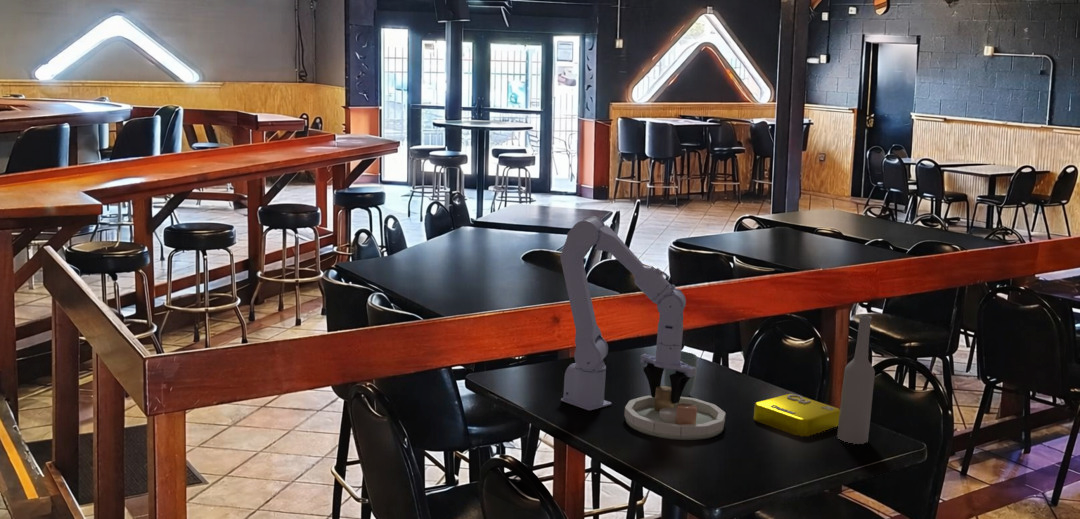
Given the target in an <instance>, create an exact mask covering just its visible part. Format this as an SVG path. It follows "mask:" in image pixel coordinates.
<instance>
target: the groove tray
mask: <svg viewBox="0 0 1080 519" xmlns="http://www.w3.org/2000/svg"><path fill="white" fill-rule="evenodd" d="M683 403H685V404H692V405H695V406H697V415H696V424H686V425H679V424H676V411H677V405H678V404H683ZM654 407H655V397H654V398H653V397H652V396H651V395H644V396H643V395H642V396H640V397H637V398H632V399H630V400H629V401H628V402H627V404H626V405H625V406H624V415H623V416H624V418H625V422H626V424H627V425H628V426H629V427H630V428H632V429H633V430H635V431H638V432H639V433H642V434H644V435H647V436H648V435H649V436H652V437H658V438H663V439H669V440H678V441H679V440H680V441H693V440H694V441H695V440H698V441H699V440H705V439H711V438H713V437H716V436H718V435H720V434H721V433H722V432H723V431H724V426H725V422H726V412H725V411H724V410H723V409H721V408H720V407H719V406H717V405H716V404H714V403H712V402H707V401H704V400H702V399H699V398H696V397H695V398H694V397H688V396H685V397H680V400H679V403H675V404H674V408H673V407H669V408H663V409H661V410H660V411H659V412H658V411H656V410H655V409H654Z"/></svg>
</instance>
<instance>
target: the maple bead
mask: <svg viewBox="0 0 1080 519" xmlns="http://www.w3.org/2000/svg"><path fill="white" fill-rule="evenodd" d="M669 407H673V408H674V404H672V403H671V387H668V386H665V385H662V386H659V387H656V393H655V407H654V409H655V410H656V411H658V412H659V411H660V410H661V409H663V408H669Z"/></svg>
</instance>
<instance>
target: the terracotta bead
mask: <svg viewBox="0 0 1080 519" xmlns="http://www.w3.org/2000/svg"><path fill="white" fill-rule="evenodd" d="M696 415H697V406H695V405H692V404H685V403H683V404H678V405H677V411H676V424H679V425H686V424H696Z"/></svg>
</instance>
